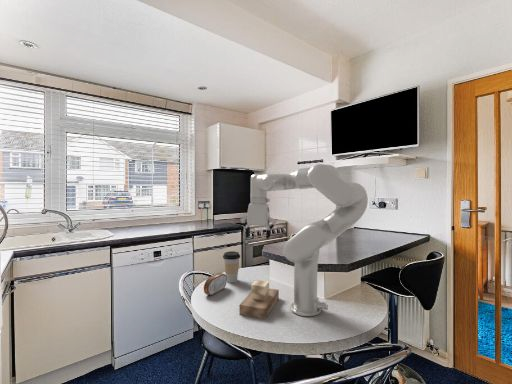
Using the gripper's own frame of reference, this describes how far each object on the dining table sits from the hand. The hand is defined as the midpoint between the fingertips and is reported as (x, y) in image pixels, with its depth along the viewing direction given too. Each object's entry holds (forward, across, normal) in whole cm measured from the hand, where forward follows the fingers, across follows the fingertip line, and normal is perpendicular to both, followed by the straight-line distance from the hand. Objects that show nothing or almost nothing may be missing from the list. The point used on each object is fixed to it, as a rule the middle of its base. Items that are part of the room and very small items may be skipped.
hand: (257, 237), depth 133 cm
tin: (+28, +20, +3) cm, 35 cm away
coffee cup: (+28, +18, -13) cm, 36 cm away
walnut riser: (+27, -5, +11) cm, 30 cm away
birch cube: (+23, -5, +11) cm, 26 cm away
